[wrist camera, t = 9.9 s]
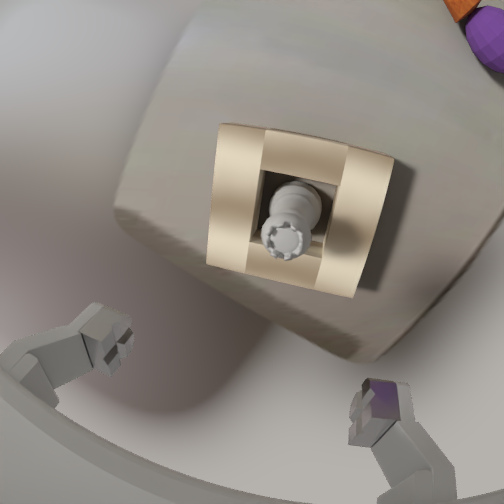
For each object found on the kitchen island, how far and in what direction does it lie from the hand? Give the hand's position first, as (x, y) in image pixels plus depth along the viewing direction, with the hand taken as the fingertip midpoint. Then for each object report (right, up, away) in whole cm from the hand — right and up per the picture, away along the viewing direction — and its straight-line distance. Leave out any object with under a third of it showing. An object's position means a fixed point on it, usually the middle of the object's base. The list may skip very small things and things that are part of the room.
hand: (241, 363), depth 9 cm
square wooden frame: (+4, +8, +16) cm, 18 cm away
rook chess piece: (+4, +8, +16) cm, 18 cm away
